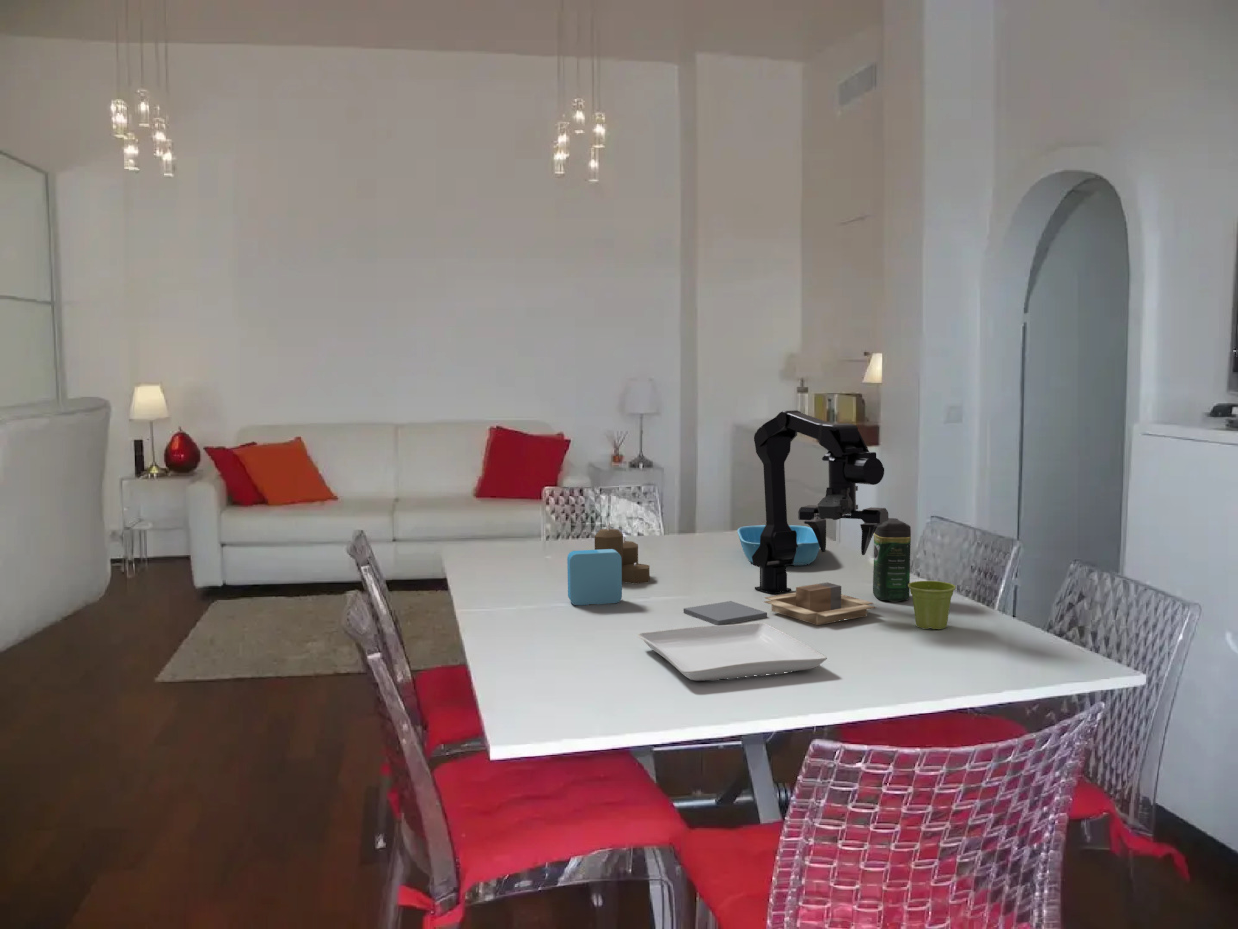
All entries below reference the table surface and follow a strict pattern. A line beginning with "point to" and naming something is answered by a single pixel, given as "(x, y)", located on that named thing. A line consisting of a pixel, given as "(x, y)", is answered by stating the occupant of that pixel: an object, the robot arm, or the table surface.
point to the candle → (623, 554)
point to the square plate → (732, 651)
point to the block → (819, 597)
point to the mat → (725, 613)
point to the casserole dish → (805, 542)
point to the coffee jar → (892, 561)
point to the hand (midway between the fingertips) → (843, 553)
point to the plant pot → (931, 603)
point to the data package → (594, 576)
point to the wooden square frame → (848, 611)
